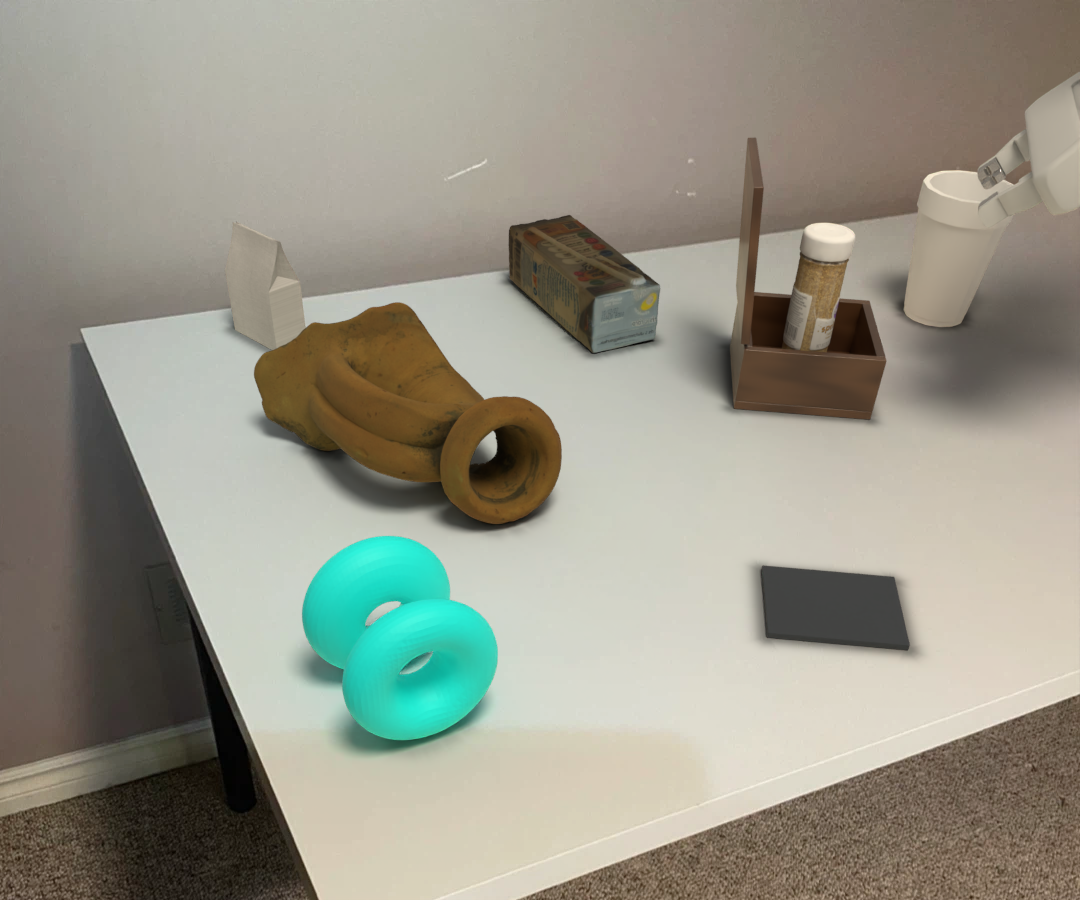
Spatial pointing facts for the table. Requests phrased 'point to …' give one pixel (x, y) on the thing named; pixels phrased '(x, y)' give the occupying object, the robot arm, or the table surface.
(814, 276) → the spice jar
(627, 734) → the table surface
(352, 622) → the donuts
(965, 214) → the foam cup
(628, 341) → the beverage carton
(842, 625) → the felt mat
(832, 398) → the walnut box
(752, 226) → the box lid
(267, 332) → the white gable top carton
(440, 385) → the brown looped sculpture
